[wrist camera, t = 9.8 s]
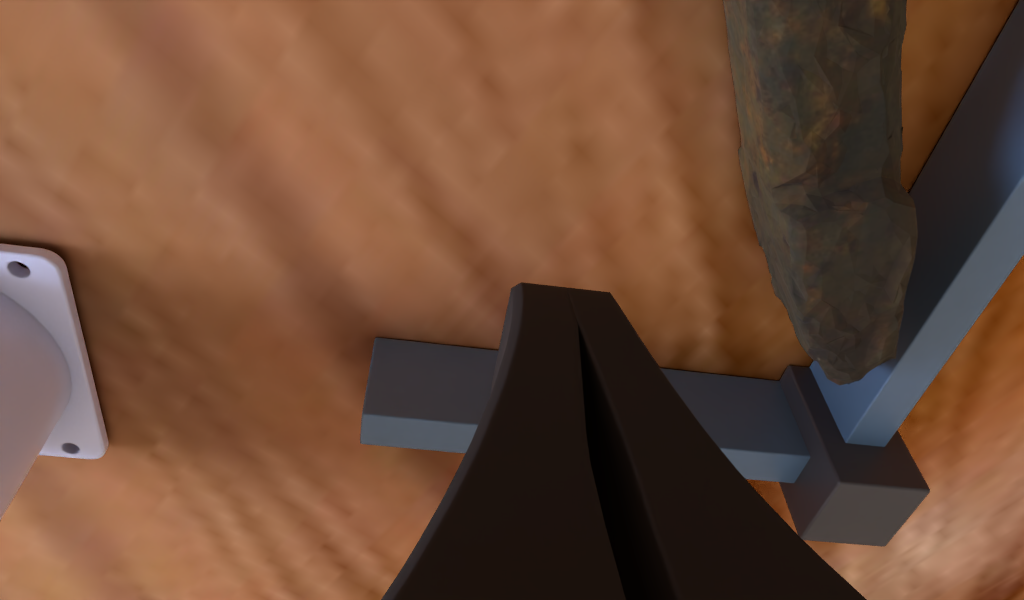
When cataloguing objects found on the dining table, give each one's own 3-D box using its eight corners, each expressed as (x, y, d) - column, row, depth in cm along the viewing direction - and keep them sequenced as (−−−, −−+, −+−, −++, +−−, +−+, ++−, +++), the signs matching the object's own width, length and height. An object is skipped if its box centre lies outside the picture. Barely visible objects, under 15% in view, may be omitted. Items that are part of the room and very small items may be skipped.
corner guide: (371, 382, 23) (351, 504, 20) (478, -983, 9) (473, -1385, 6) (831, 429, 25) (885, 547, 22) (1516, -641, 11) (1987, -788, 7)
